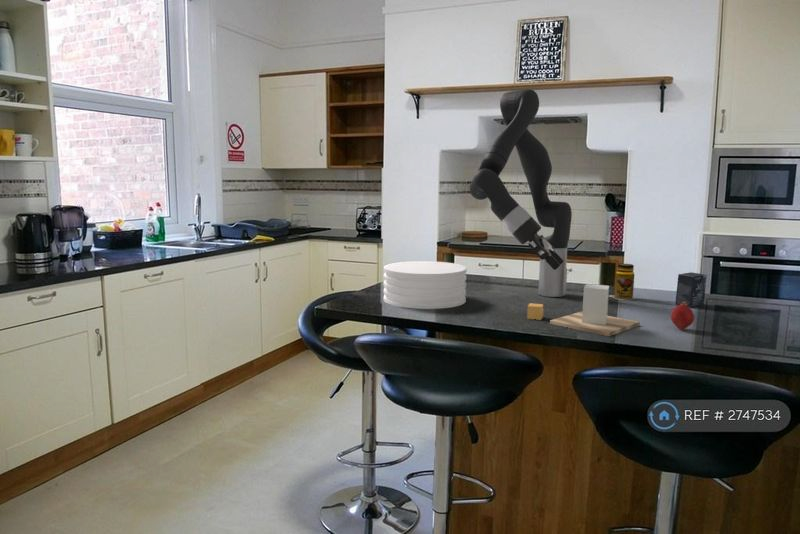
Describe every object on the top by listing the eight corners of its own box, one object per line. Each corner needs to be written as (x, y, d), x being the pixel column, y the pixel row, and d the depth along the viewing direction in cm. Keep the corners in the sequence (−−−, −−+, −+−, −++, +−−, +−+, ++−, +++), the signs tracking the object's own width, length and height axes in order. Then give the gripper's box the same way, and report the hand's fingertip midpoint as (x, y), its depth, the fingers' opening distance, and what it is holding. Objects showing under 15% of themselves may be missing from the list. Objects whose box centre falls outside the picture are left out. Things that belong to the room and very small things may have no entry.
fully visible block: (529, 316, 177) (530, 303, 177) (542, 317, 176) (543, 304, 175) (527, 319, 174) (527, 305, 173) (540, 320, 172) (541, 307, 171)
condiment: (622, 300, 200) (625, 266, 198) (605, 296, 208) (607, 262, 206) (639, 299, 203) (641, 265, 201) (621, 294, 211) (623, 261, 209)
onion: (665, 327, 165) (667, 299, 164) (685, 326, 165) (687, 299, 164) (677, 332, 159) (679, 304, 158) (697, 332, 160) (699, 303, 158)
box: (691, 308, 189) (694, 276, 188) (674, 305, 194) (677, 273, 192) (704, 305, 194) (707, 274, 192) (688, 302, 198) (690, 271, 197)
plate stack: (435, 313, 180) (436, 276, 178) (366, 301, 197) (366, 267, 195) (480, 299, 202) (481, 266, 200) (415, 289, 219) (415, 258, 217)
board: (582, 314, 180) (582, 311, 180) (639, 325, 167) (639, 321, 167) (549, 323, 168) (549, 320, 167) (608, 336, 155) (609, 332, 154)
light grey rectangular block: (583, 317, 171) (585, 284, 170) (606, 319, 169) (609, 285, 167) (581, 322, 165) (583, 287, 164) (605, 324, 163) (607, 289, 161)
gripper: (526, 217, 163) (566, 260, 161) (534, 214, 176) (571, 254, 174) (507, 235, 166) (546, 278, 163) (516, 231, 179) (552, 270, 176)
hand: (559, 265), depth 169 cm, fingers open, 8 cm apart
